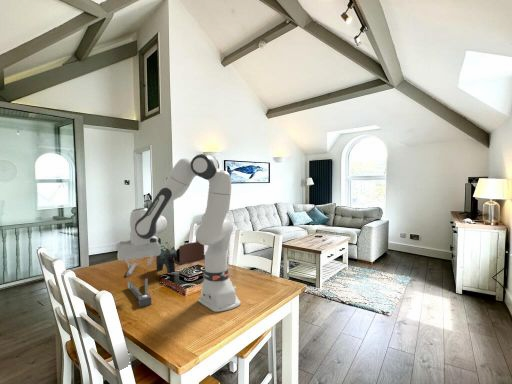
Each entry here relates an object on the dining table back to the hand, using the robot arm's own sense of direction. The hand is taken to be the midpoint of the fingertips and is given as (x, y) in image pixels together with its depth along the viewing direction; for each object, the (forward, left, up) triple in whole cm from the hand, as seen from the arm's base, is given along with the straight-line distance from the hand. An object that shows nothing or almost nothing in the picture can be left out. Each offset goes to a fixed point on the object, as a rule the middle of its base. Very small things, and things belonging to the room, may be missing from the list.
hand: (139, 266), depth 134 cm
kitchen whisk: (+47, -2, -16) cm, 49 cm away
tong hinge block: (-12, 0, -15) cm, 19 cm away
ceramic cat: (+28, -18, -15) cm, 37 cm away
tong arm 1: (+2, +3, -15) cm, 15 cm away
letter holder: (+45, -39, -16) cm, 62 cm away
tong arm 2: (+2, -3, -15) cm, 15 cm away
